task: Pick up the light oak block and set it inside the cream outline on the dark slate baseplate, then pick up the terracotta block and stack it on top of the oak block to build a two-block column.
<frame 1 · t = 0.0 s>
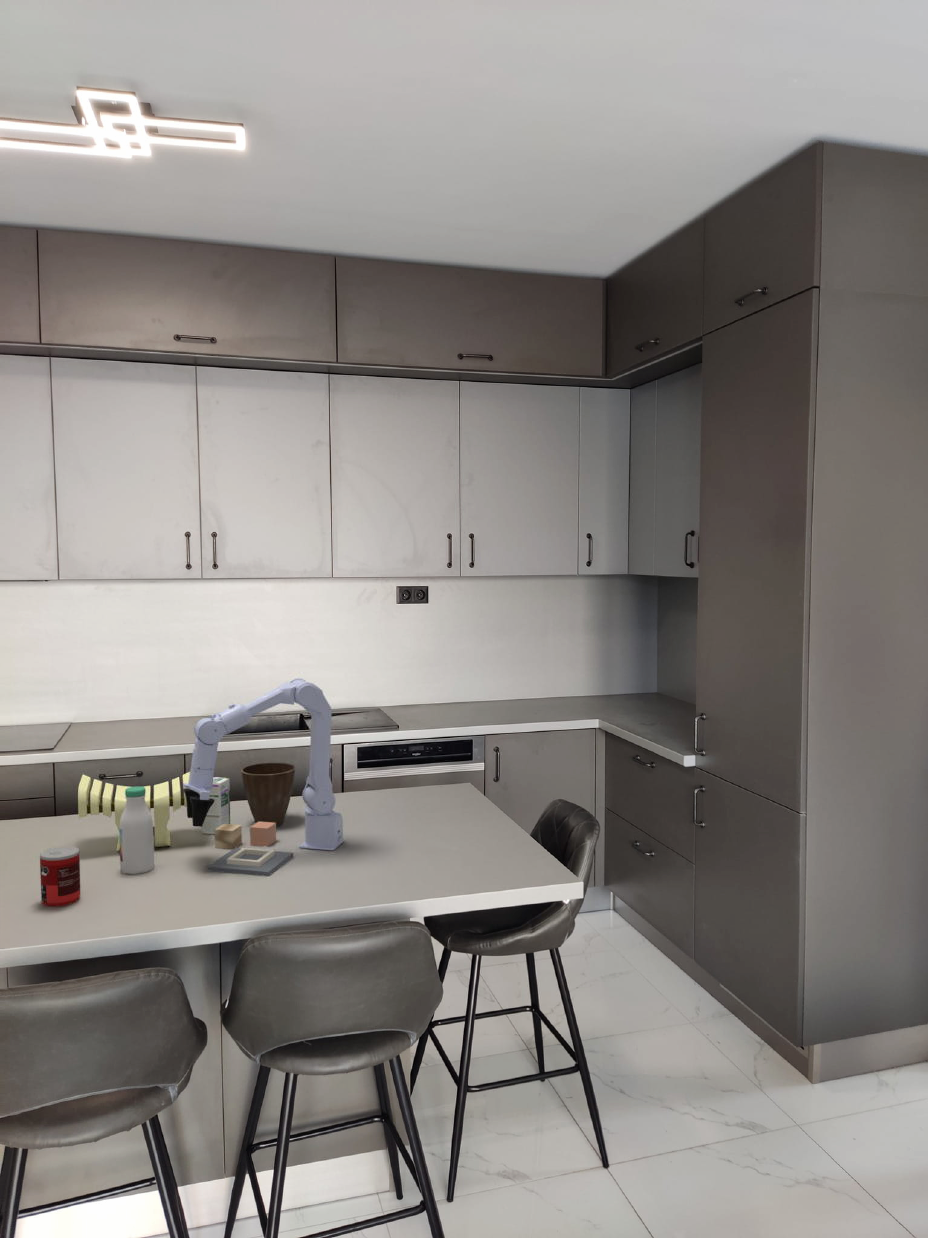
hand: (194, 822, 215), 11 cm above the kitchen island, tool pointing down, fingers open, 7 cm apart
milk bottle: (137, 870, 212), on the kitchen island
oak block: (228, 846, 230), on the kitchen island
slatted curved stool: (143, 843, 232), on the kitchen island, touching syrup box
syrup box: (216, 832, 241), on the kitchen island, touching slatted curved stool
canned food: (61, 901, 193), on the kitchen island
terracotta block: (263, 843, 232), on the kitchen island
plant pot: (269, 824, 249), on the kitchen island
slate baseplate: (251, 863, 216), on the kitchen island
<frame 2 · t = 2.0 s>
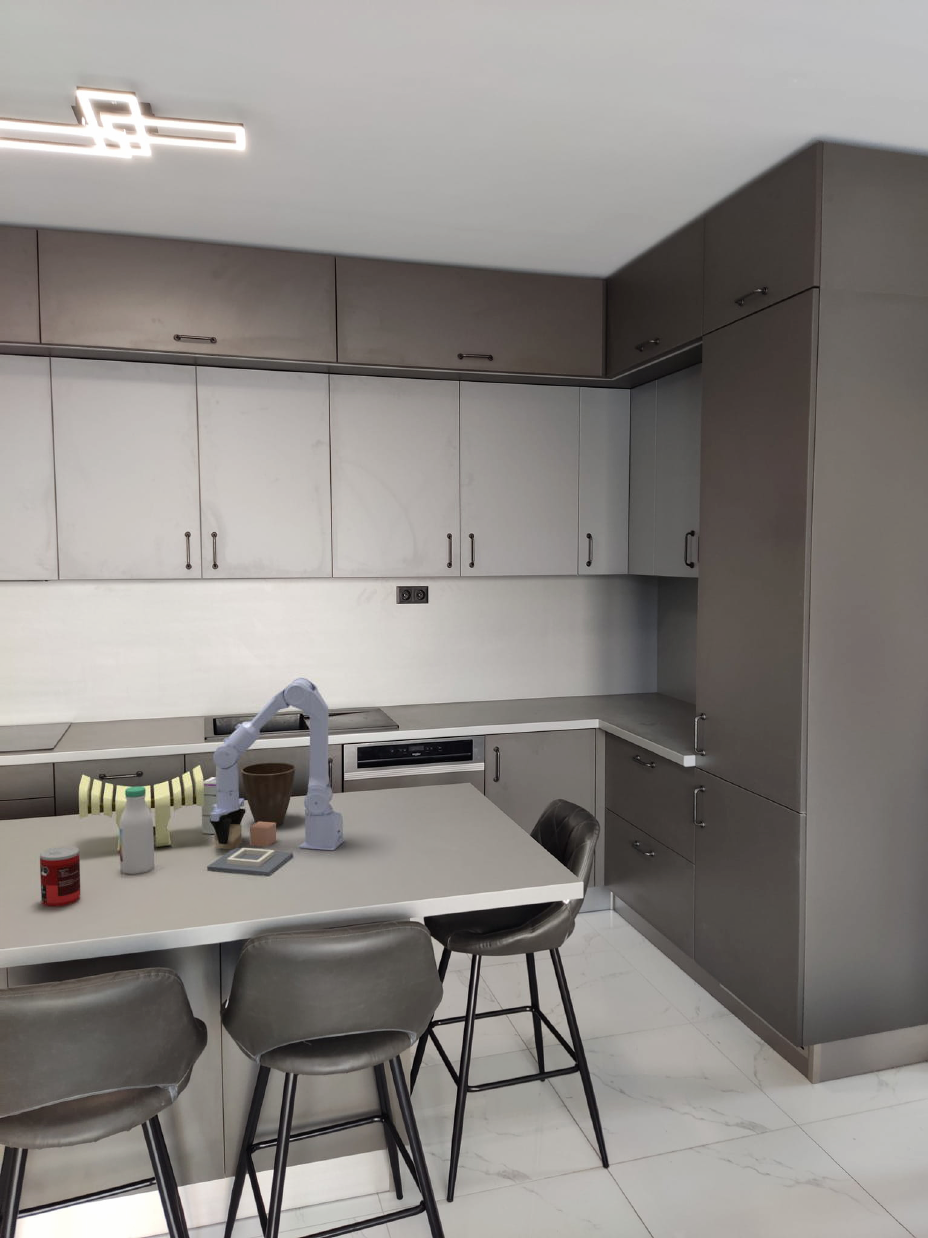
hand: (228, 840, 229), 1 cm above the kitchen island, tool pointing down, fingers closed on oak block, 5 cm apart
oak block: (228, 845, 230), on the kitchen island, touching gripper
everything else where it was.
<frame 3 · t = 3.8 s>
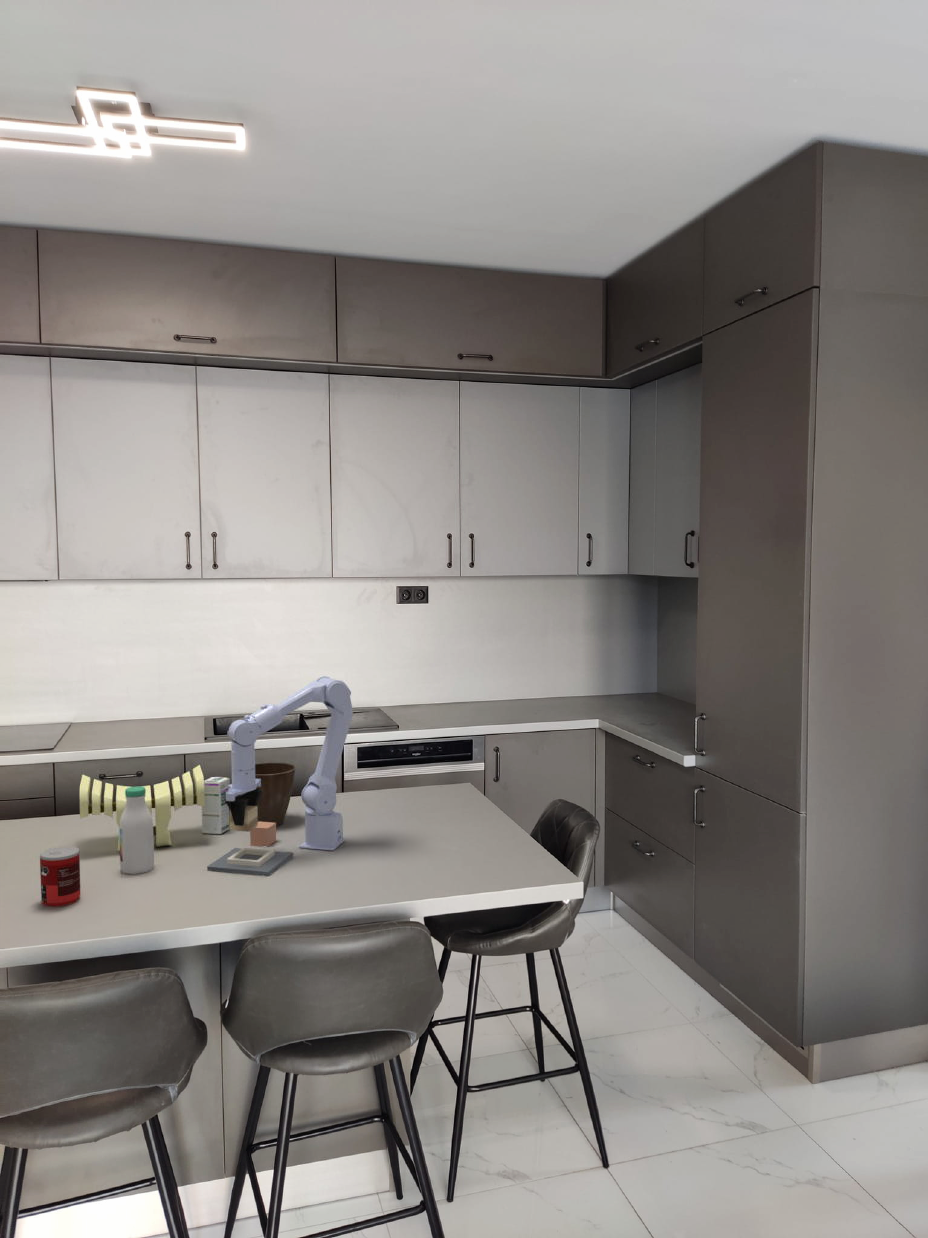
hand: (244, 822, 219), 9 cm above the kitchen island, tool pointing down, fingers closed on oak block, 5 cm apart
oak block: (243, 828, 219), point 8 cm above the kitchen island, touching gripper
everything else where it was.
when the fingers open (3 cm above the kitchen island, at t = 5.8 s): oak block stays where it is, resting on slate baseplate.
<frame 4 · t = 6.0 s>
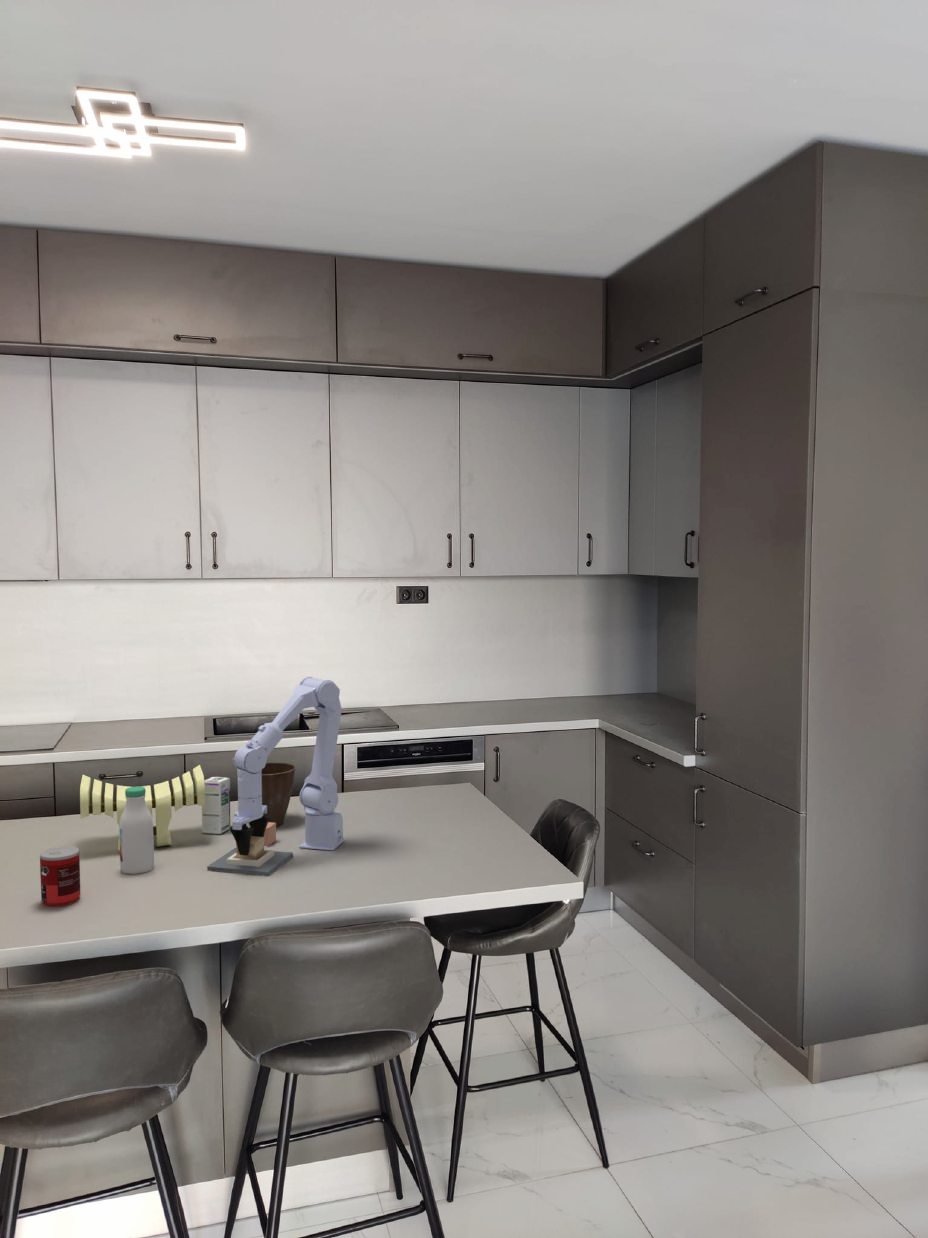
hand: (250, 850, 216), 3 cm above the kitchen island, tool pointing down, fingers open, 7 cm apart
oak block: (250, 859, 216), point 1 cm above the kitchen island, touching slate baseplate
everything else where it was.
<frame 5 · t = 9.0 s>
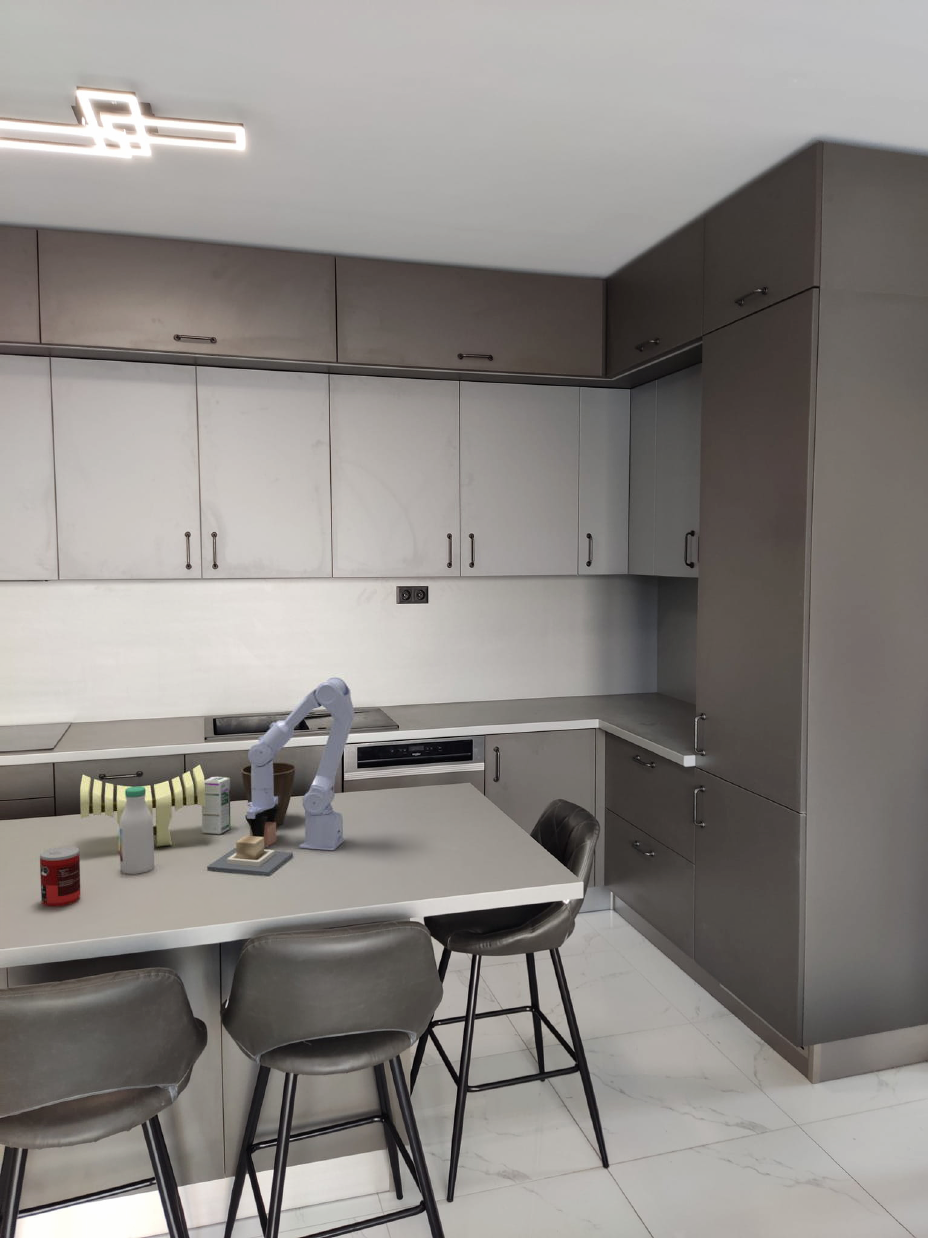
hand: (263, 837, 232), 1 cm above the kitchen island, tool pointing down, fingers closed on terracotta block, 5 cm apart
terracotta block: (263, 843, 232), on the kitchen island, touching gripper
everything else where it was.
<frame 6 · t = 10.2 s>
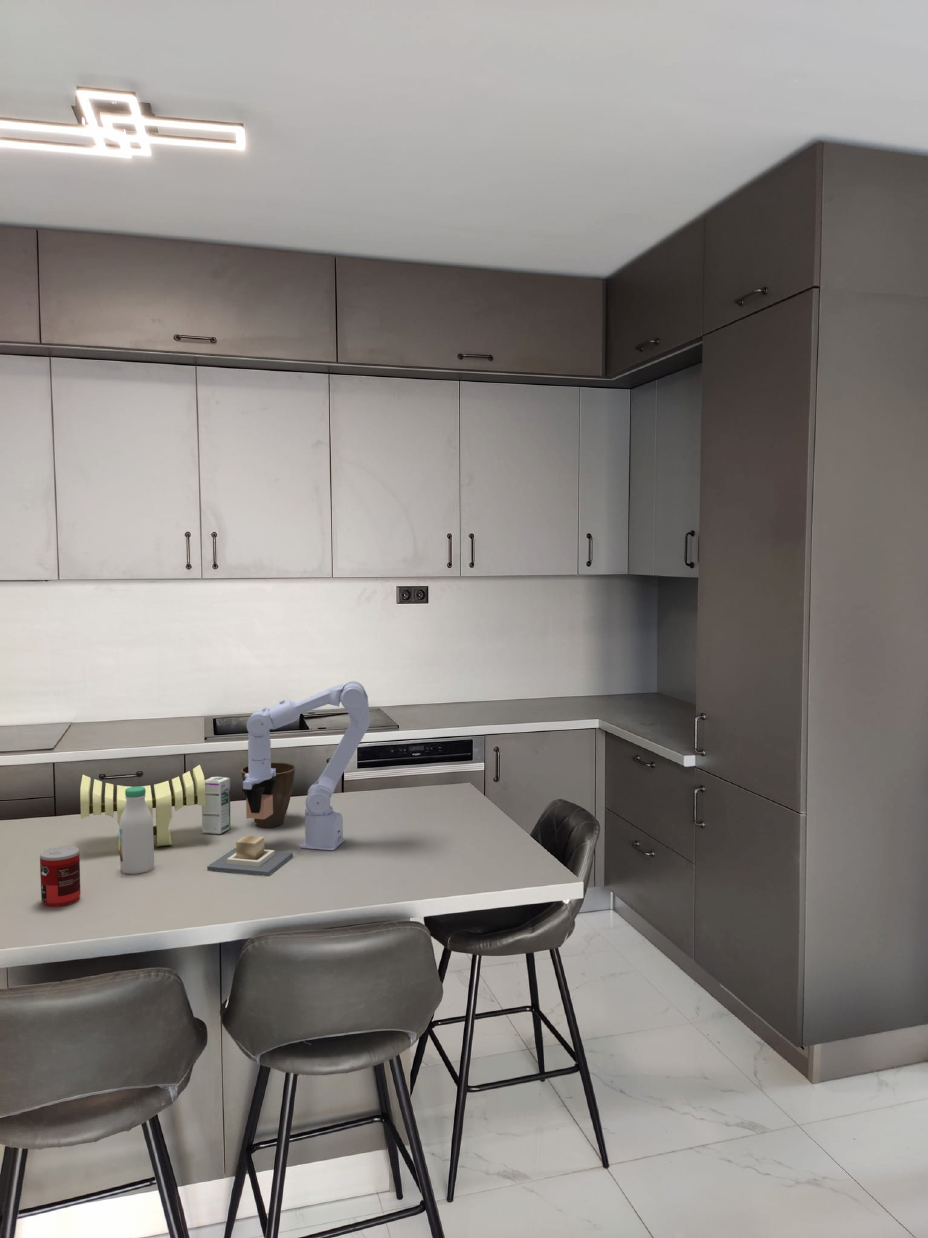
hand: (260, 809, 228), 10 cm above the kitchen island, tool pointing down, fingers closed on terracotta block, 5 cm apart
terracotta block: (259, 815, 228), point 8 cm above the kitchen island, touching gripper
everything else where it was.
when the fingers open (8 cm above the kitchen island, at t = 11.8 s): terracotta block stays where it is, resting on oak block.
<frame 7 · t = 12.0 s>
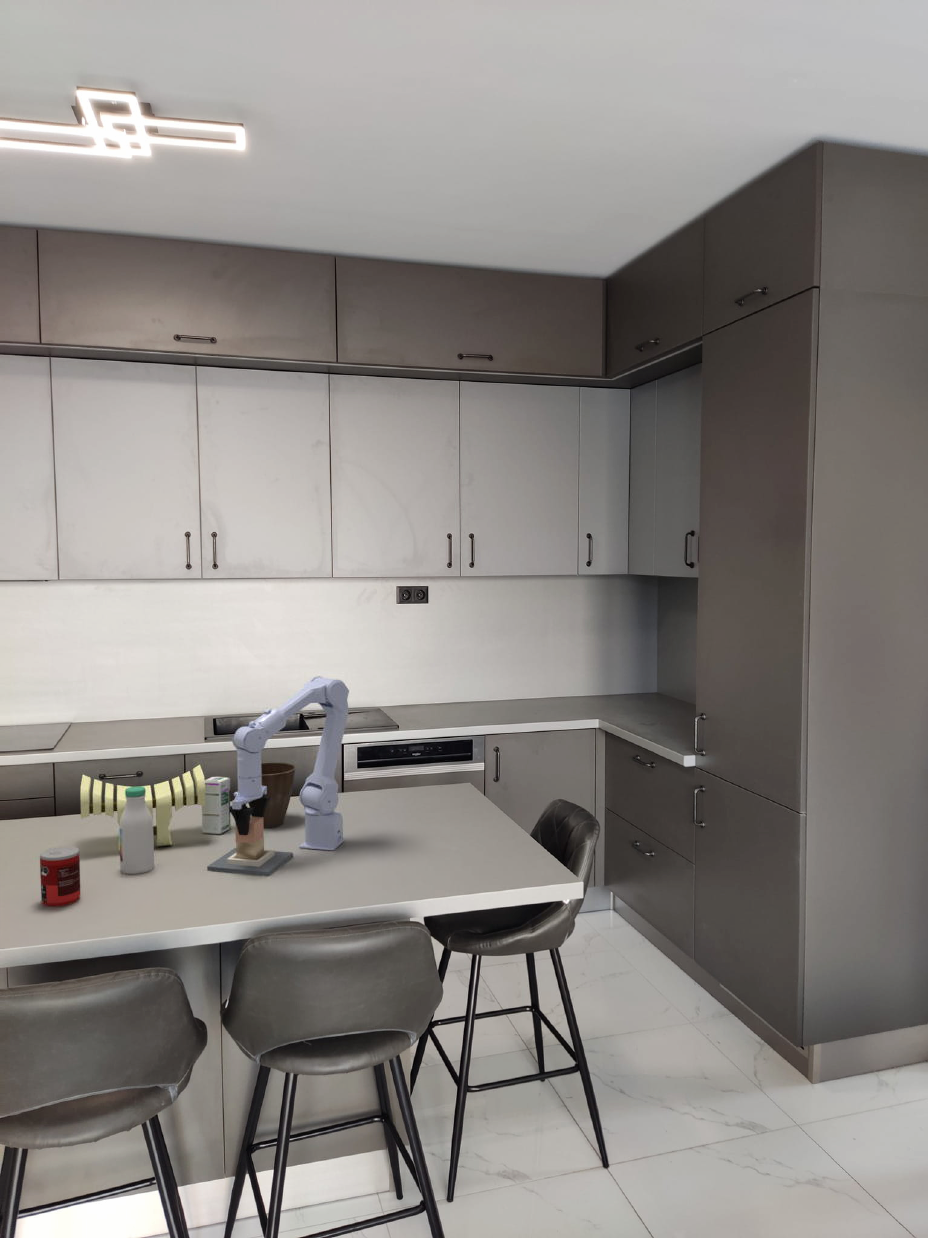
hand: (250, 830, 216), 8 cm above the kitchen island, tool pointing down, fingers open, 7 cm apart
oak block: (250, 859, 216), point 1 cm above the kitchen island, touching slate baseplate, terracotta block
terracotta block: (249, 839, 216), point 6 cm above the kitchen island, touching oak block
everything else where it was.
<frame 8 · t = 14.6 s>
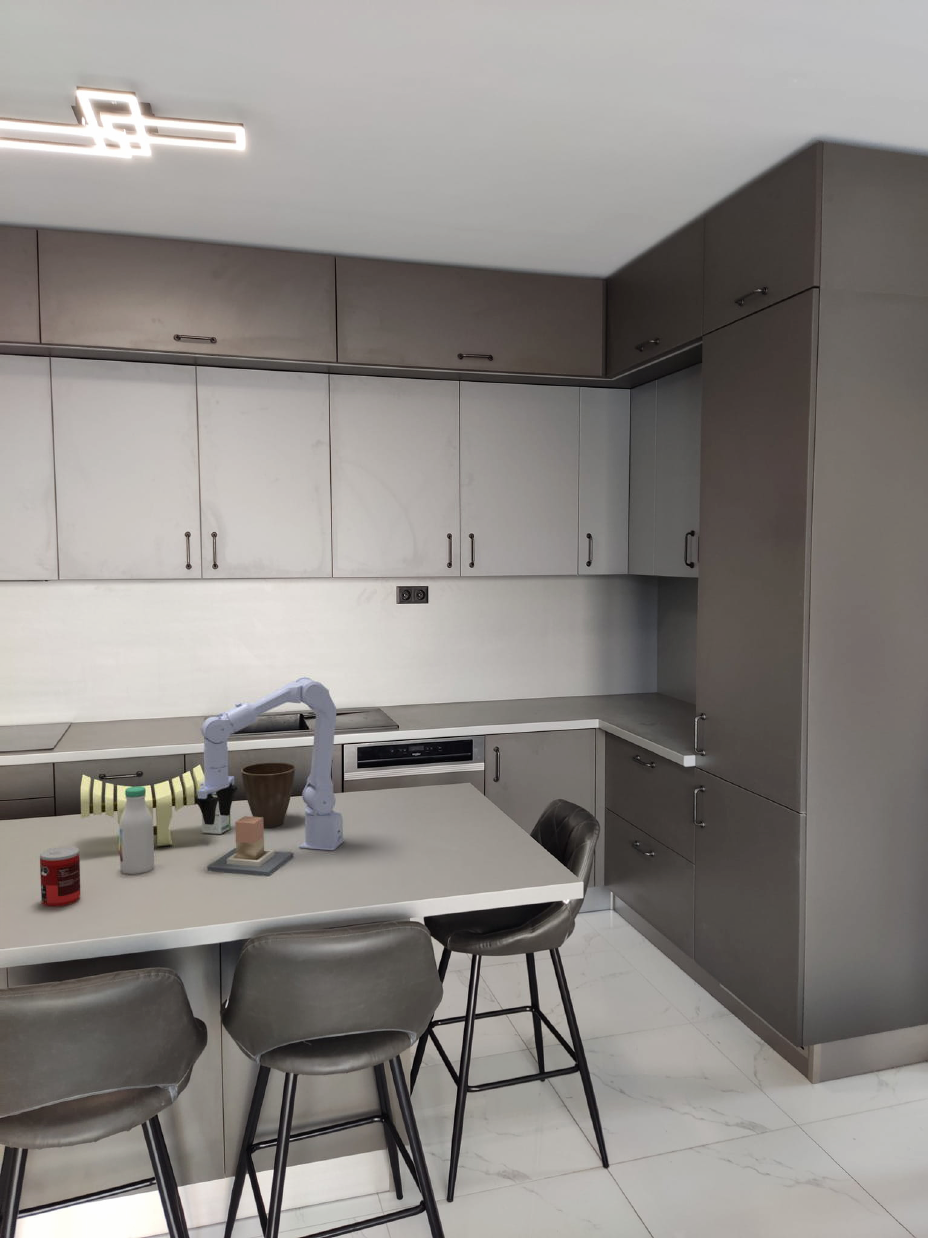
hand: (217, 819, 217), 10 cm above the kitchen island, tool pointing down, fingers open, 7 cm apart
nothing on the kitchen island moved.
at the end: oak block 0.1 cm off-centre on the slate baseplate, point 1.0 cm above the slate baseplate's base; terracotta block 0.2 cm off-centre on the slate baseplate, point 6.0 cm above the slate baseplate's base; terracotta block tilted 0° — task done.
